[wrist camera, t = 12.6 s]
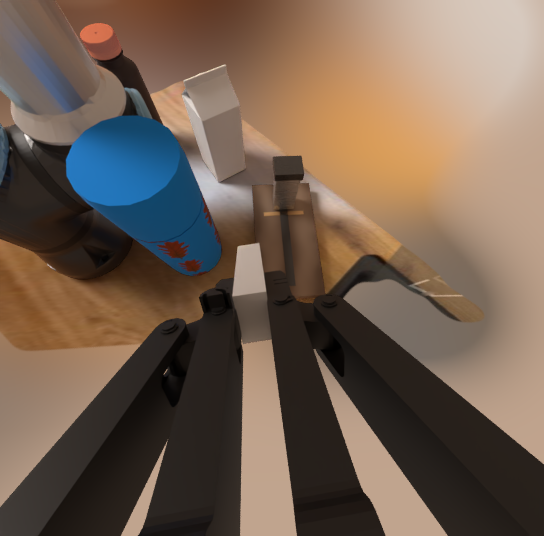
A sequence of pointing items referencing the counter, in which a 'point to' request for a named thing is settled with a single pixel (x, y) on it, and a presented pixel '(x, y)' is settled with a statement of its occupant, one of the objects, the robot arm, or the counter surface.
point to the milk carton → (216, 121)
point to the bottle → (116, 61)
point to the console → (289, 240)
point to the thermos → (146, 190)
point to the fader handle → (286, 180)
